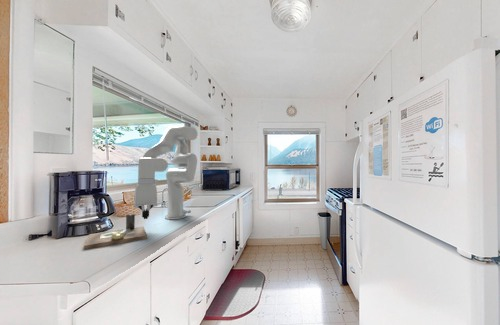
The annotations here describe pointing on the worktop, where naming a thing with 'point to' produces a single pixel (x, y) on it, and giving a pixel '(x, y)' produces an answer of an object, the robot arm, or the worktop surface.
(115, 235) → the tuner lever
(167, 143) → the robot arm
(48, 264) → the worktop surface
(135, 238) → the board
